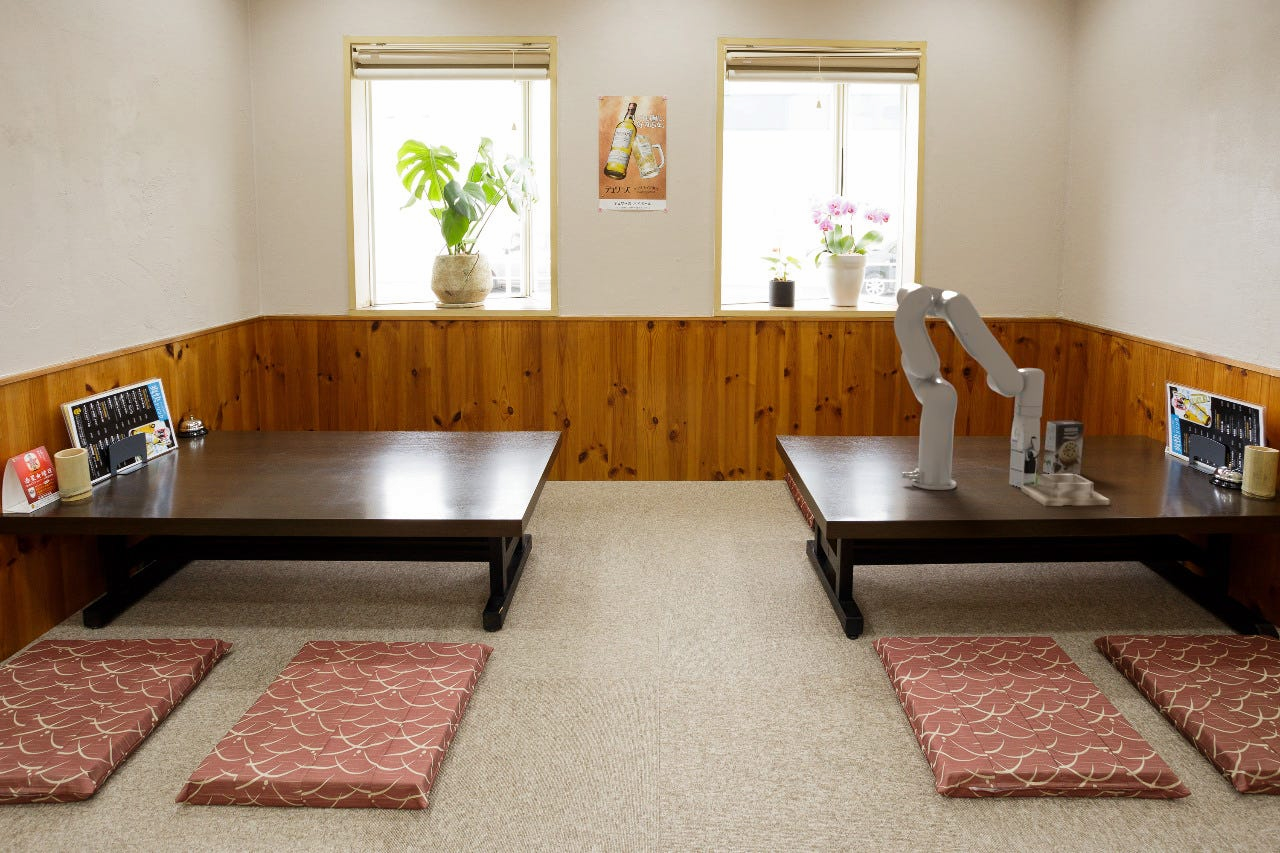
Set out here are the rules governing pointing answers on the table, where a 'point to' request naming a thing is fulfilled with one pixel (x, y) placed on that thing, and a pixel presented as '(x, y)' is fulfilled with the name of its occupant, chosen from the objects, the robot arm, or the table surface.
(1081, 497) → the holder
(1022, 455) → the syrup box
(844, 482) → the table surface
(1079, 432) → the coffee box
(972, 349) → the robot arm
